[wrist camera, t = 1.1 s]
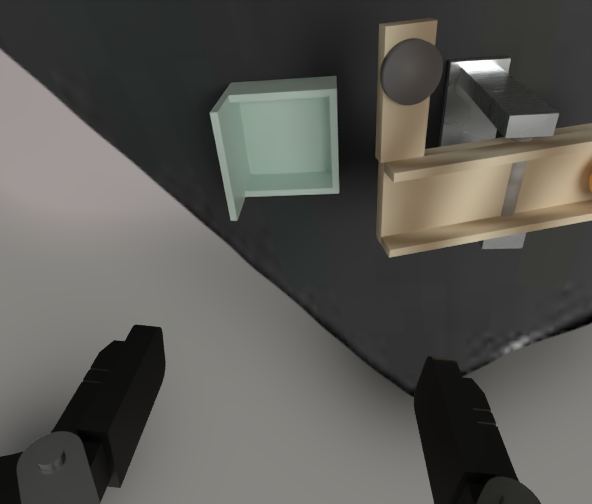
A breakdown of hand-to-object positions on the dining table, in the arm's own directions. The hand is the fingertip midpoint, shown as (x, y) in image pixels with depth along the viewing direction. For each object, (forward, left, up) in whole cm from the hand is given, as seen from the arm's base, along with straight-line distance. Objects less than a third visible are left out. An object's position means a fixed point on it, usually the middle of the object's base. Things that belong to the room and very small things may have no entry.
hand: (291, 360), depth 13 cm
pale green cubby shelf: (+2, -2, -25) cm, 25 cm away
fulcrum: (+2, +12, -25) cm, 28 cm away
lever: (-1, +11, -16) cm, 19 cm away
